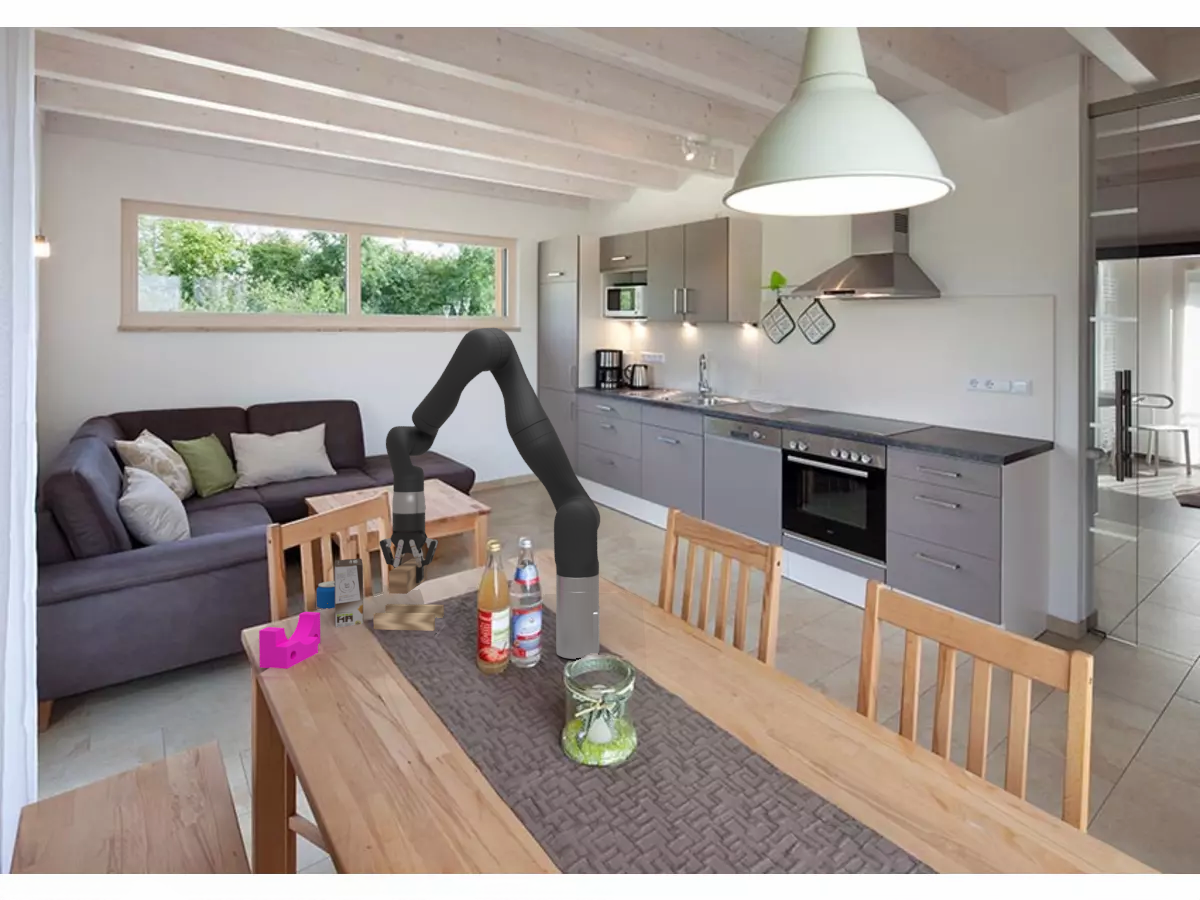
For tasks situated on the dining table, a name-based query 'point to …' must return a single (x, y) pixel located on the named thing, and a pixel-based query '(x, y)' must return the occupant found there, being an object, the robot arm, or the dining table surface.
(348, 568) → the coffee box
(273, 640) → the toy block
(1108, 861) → the dining table surface
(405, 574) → the walnut beam
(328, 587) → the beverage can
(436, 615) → the rail stand
